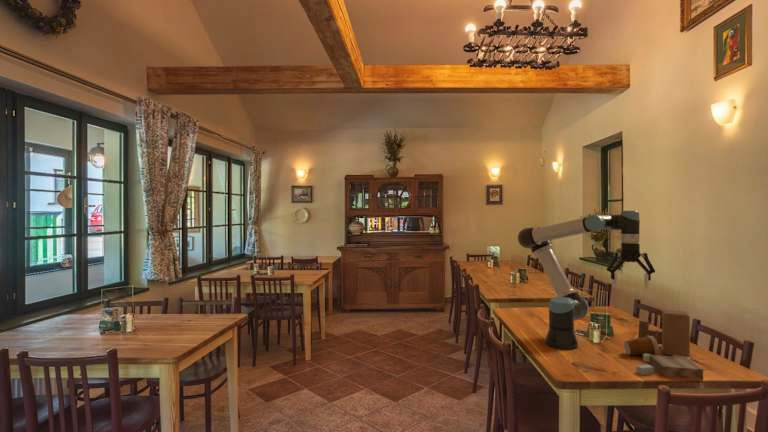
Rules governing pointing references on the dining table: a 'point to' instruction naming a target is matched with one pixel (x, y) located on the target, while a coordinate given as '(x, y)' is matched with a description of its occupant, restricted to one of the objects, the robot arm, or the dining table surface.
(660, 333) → the wooden block set
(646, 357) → the brick sage
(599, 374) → the dining table surface
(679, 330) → the wooden block
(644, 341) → the disposable coffee cup
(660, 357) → the walnut slab
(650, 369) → the brick bluegrey
